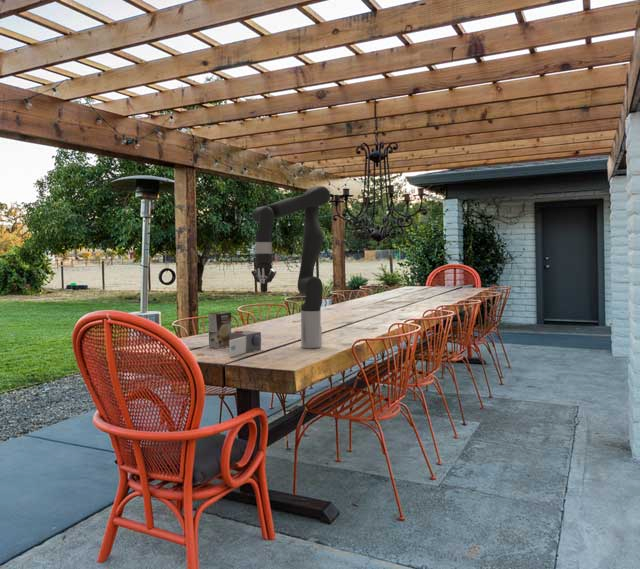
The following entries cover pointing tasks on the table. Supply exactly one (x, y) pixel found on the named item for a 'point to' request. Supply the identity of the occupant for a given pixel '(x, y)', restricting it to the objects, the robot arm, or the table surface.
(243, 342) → the side door
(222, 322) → the coffee box
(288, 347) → the table surface
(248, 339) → the block
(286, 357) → the table surface
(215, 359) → the table surface
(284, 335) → the table surface
